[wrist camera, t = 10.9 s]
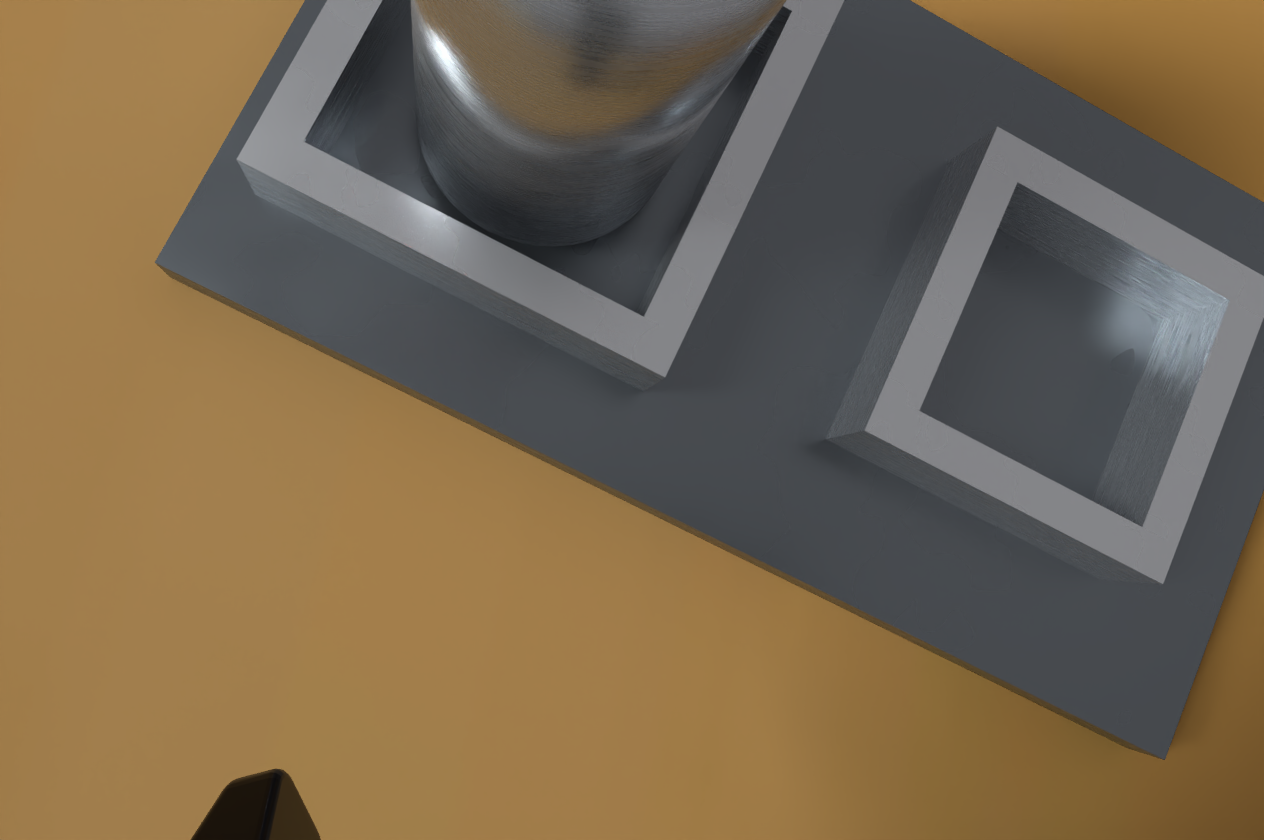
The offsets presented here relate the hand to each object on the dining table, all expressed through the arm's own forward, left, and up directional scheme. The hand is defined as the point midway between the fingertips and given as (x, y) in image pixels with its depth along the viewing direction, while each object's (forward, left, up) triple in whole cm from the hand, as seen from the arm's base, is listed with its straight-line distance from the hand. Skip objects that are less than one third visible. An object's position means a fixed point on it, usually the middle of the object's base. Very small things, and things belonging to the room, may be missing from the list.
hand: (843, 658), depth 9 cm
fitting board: (+8, -1, -13) cm, 15 cm away
